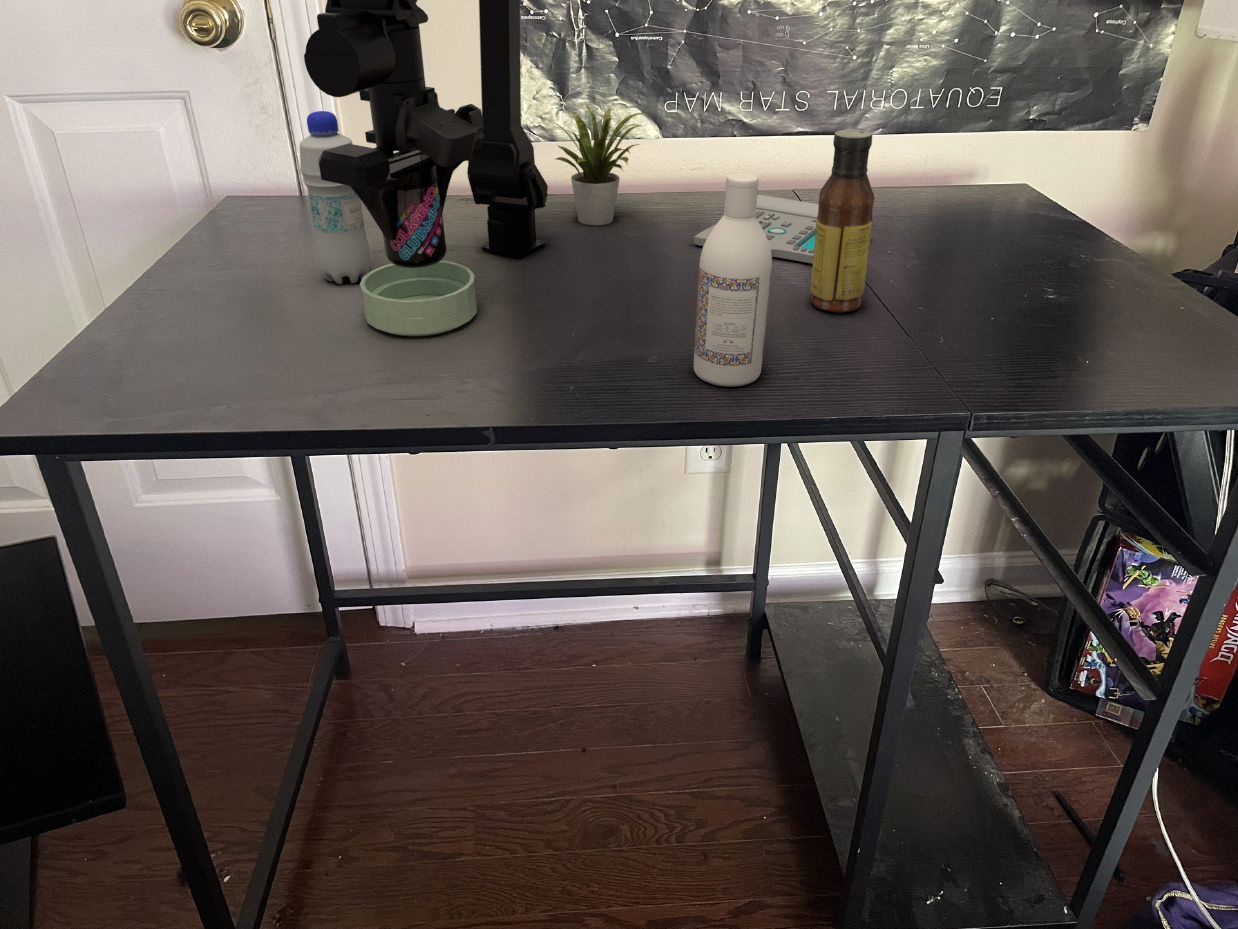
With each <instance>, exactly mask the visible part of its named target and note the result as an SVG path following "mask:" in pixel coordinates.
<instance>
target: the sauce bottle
mask: <svg viewBox="0 0 1238 929" xmlns="http://www.w3.org/2000/svg"><path fill="white" fill-rule="evenodd" d="M833 135H834V136H833V142H832V143H833V148H834V151H833V152H834V153H833V159H832V160H833V161H832V162H833V163H832V168H831V174H830V175H829V177H828V179H827V180H826V181H825V183H824V184H823V186H822V187H821V188H820V191H819V194H818V195H819V196H818V204H819V208H818V217H817V221H816V233H815V244H814V255H813V264H812V269H811V275H810V276H811V277H810V287H809V288H810V289H809V290H810V301H811V304H812V305H813V306H814V308H816V309H817V310H821V311H825V312H829V313H834V314H841V313H842V314H843V313H844V314H845V313H850V312H853V311H854V312H855V311H856V310H858V309H859V308H860V307H861V305H862V302H863V296H864V293H865V287H866V279H867V270H868V261H869V252H870V245H871V236H872V230H873V221H874V219H873V209H874V202H875V194H874V193H875V192H874V191H873V188H872V186H871V182H870V180H869V176H868V171H869V168H868V163H869V155H870V149H871V147H872V144H873V133H872V132H871V131H869V130H864V129H858V128H845V129H839V130H836V131H835V132H834V134H833Z"/></svg>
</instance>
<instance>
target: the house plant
mask: <svg viewBox="0 0 1238 929" xmlns="http://www.w3.org/2000/svg"><path fill="white" fill-rule="evenodd" d="M585 107H586V108H587V110H588V112H589V115H590V117H591V123H592V130H593V144H592V141H591V140H592V139H591V136H590V132H589V127H590V125H587V124H586V123H585V121H584V120H583V118H581V117H580V114H578V113H577V112H576V111H574V110H571V112H572V115H573V118H574V121H575V125H576V127H577V130H578V135H579V137H578V136H577V134H576V133H575V132H574V131H573V130H571V132H572V134H573V136H574V138H575V139H573V136H571V134H570V133H569V132H568V131H567V130H566V129H564V128H563V127H562V126H561V125H560V124H558V123H556V122H555V121H553V120H550V119H547V121H549V122H551V123H553V124H555V125H556V126H558V127H559V128H561V129H562V131H563V132H565V134H566V135H567V136H568V137H569V138H570V139H571V141H572V142H573V143H574V145H575V146H576V148H577V150H578V151H579V153H580V155H581V156H579V155H578V154H577V153H575V152H574V151H572V150H570V149H569V148H567V147H565V146H561V145H557V147H558V148H559V149H561V150H562V151H563V152H564V153H565V154H566V155H567V156H569V157H570V158H571V159H573V161H574V162H575V163H576V164H575V163H573V161H571V160H570V159H568V158H566V157H563V156H559V157H556V158H554V159H553V161H554V160H558V161H561V162H564V163H567V164H569V165H570V166H572V167H573V168H574V169H575V170H576V171H577V172H576V173H574V174H572V175H571V177H570V180H571V185H572V191H573V192H572V193H573V197H574V204H575V208H576V214H577V220H578V222H579V223H580V224H583V225H589V226H603V225H604V226H605V225H608V224H611V223H612V222H613V221H614V216H615V210H616V203H617V196H618V191H619V185H620V176H619V175H618V174H616V173H614V172H611V171H612V170H613V169H614V168H618V169H621V170H622V171H624V169H623V166H622V165H621V164H619V163H618V162H619V160H620V161H623V162H624V163H625V164H628V162H629V157H627V156H624V155H625V154H626V153H628V154H631V152H630V149H632V148H633V147H635V146H639V145H641V143H636V144H631V145H629V146H627V147H626V148H624V149H623V148H621V147H619V146H620V144H621V142H623V140H624V138H625V137H626V136H627V135H628V134H629V133H631V131H633V130H634V129H636V128H640V127H643V126H644V125H642V124H641V125H639V123H638V124H636V123H632V124H631V123H630V124H629V125H626V124H627V123H628V122H629V121H630V120H632V118H634V117H635V116H639V115H642V114H645V113H647V112H637V113H632V114H630V115H628V116H626V117H624V119H622V120H621V121H619V123H618V124H617V125H616V126H615V128H614V130H613V131H612V134H611V135H610V138H609V140H608V141H607V139H608V135H609V134H610V128H612V126H613V124H612V125H611V121H612V116H611V111H612V110H611V108H608V109H607V110H606V111H605V113H604V115H603V119H602V120H603V121H602V123H601V128H600V130H599V124H598V121H597V117H596V116H595V114H594V112H593V110H592V109H591V108H590V107H589V105H588V104H587V103H586V102H585ZM625 125H626V126H625ZM623 127H624V128H623ZM628 127H630V128H628ZM625 128H628V129H627V130H626V131H625V132H624V133H623V134H622V135H621V136H620V134H621V132H622V131H623V130H624V129H625ZM619 136H620V138H619V139H618V140H617V138H618V137H619ZM575 140H576V141H577V143H576V142H575ZM616 140H617V143H616V145H615V146H614V148H613V149H611V148H612V147H613V144H614V143H615V142H616ZM620 151H621V152H620ZM618 152H620V153H619V154H618V155H617V156H616V158H614V159H612V158H613V157H614V156H615V155H616V153H618ZM576 165H578V166H579V167H580V169H581V170H582V171H580V169H579V168H578V166H576Z"/></svg>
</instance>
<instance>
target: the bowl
mask: <svg viewBox="0 0 1238 929" xmlns="http://www.w3.org/2000/svg"><path fill="white" fill-rule="evenodd" d="M360 280H361V281H360V283H359V288H360V289H359V290H360V295H361V301H362V302H361V303H362V308H363V315H364V318H365V320H366V322H367V324H369V325H370V326H371V327H373V328H374V329H376V330H379V331H383V332H385V333H388V334H392V335H396V336H404V337H426V336H434V335H440V334H443V333H446V332H447V333H448V332H450V331H453V330H455V329H457V328H459V327H460V326H462V325H465V324H466V323H468V322H470V321H471V320H472V319H473V318H474V317H475V316H476V314H477V311H478V300H477V288H476V276H475V274H474V272H473V271H472V270H471V268H468V267H467V266H465V265H463V264H461V263H456V262H453V261H450V260H441V261H440V262H438V263H436V264H433V265H430V266H426V267H420V268H405V267H400V266H396V265H394V264H393V263H390V264H386V265H382V266H380V267H377V268H375V269H372V270H370V272H369V273H368V274H367V275H365V276H364V277H363V278H362V279H360Z"/></svg>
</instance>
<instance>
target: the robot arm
mask: <svg viewBox="0 0 1238 929" xmlns="http://www.w3.org/2000/svg"><path fill="white" fill-rule="evenodd" d="M417 2H418V0H326V4H325V9H324V12H320V13H317V15H316V19H317V28H318V29H317V30H315V31H314V32H312V33H311V35H310V36H309V37H308V39H307V42H306V45H305V52H304V54H303V60H304V66H305V69H306V72H307V73H308V76H309V78H310V79H311V81H312V82H313V84H314V85H315V86H316V87H317V88H318V89H319V90H320V91H321V92H322V93H324V94H326V95H328V96H330V97H333V98H343V97H347V96H350V95H354V94H357V93H358V94H359V100H360V101H363V102H364V101H365V102H369V109H370V115H371V116H370V117H371V123H372V129H371V130H368V131H364V135H365V141H366V143H369V144H375V147H369V146H364V145H358V144H349V143H348V144H345V145H342V146H338V147H335V148H331V149H328V150H324V151H323V152H322V154H321V156H320V157H319V168H320V174H321V180H325V181H329V182H334V183H339V184H343V185H348V186H350V187H351V188H352V189H353V191H354V192H355V193H356V194H357V196H358V197H359V198H360V200H361V203H362V204H363V205H364V207H365V208H366V209H367V211H368V212H369V214H370V217H372V219H373V220H374V222H375V224H376V225H377V227H378V228H379V230H380V232H381V233H382V235H383V234H384V236H385V237H386V239H387V240H391V241H394V240H396V219H395V209H394V198H393V193H394V191H395V189H396V188H397V186H398V184H399V183H400V180H399V179H394V178H390V166H389V165H390V164H393V163H396V162H399V161H402V160H405V159H408V158H411V157H414V156H418V155H424V156H429V157H430V158H432V159H433V160H434V162H435V163H436V164H437V169H438V176H439V179H438V181H439V189H440V198H441V207H442V214H443V213H444V208H445V204H446V200H447V195H448V191H449V186H450V183H451V180H452V177H453V174H454V172H455V171H456V170H457V168H458V167H459V166H461V164H463V163H464V162H467V171H466V173H467V180H468V183H469V187H470V190H471V193H472V197H473V201H474V205H479V206H480V205H484V206H487V207H486V208H487V210H486V211H487V219H486V225H487V226H486V227H487V237H488V238H487V239H488V240H487V241H488V242H487V243H484V244H481V246H480V248H481V250H482V251H485V252H490V253H494V254H498V255H502V256H506V257H509V258H510V257H511V258H514V259H520V258H522V257H525V256H526V255H529V254H531V253H532V252H534V251H537V250H539V249H541V248H542V247H545V246H546V241H545V240H541V239H537V229H536V228H537V226H536V210H537V209H544V208H545V207H546V202H547V199H548V189H549V187H548V183H547V182H546V180H545V178H544V177H543V175H542V173H541V172H540V170H539V168H538V167H537V165H536V162H535V160H536V159H535V148H534V145H533V144H532V142H531V140H530V137H529V136H528V134H527V133H526V131H525V129H524V127H523V126H522V111H521V110H522V108H521V107H522V97H521V96H522V94H521V93H522V90H521V89H522V88H521V87H522V86H521V85H522V84H521V83H522V82H521V78H522V77H521V72H522V71H521V0H478V14H479V15H478V16H479V18H478V20H479V53H480V55H479V56H480V57H479V58H480V59H479V60H480V90H481V91H480V92H481V96H480V97H481V108H480V107H478V106H476V105H474V104H473V103H469V104H466V105H462V106H460V107H458V109H457V110H455V109H454V108H449V109H445V108H443V107H441V106H440V103H439V98H438V97H439V96H438V93H437V92H436V89H435V87H431V86H427V84H426V77H425V68H424V59H423V49H422V48H423V47H422V39H421V30H420V25H421V24H426V23H427V22H429V16H428V13H426V12H425V11H424V9H422V8H421V7H420V6H418V4H417Z"/></svg>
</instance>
